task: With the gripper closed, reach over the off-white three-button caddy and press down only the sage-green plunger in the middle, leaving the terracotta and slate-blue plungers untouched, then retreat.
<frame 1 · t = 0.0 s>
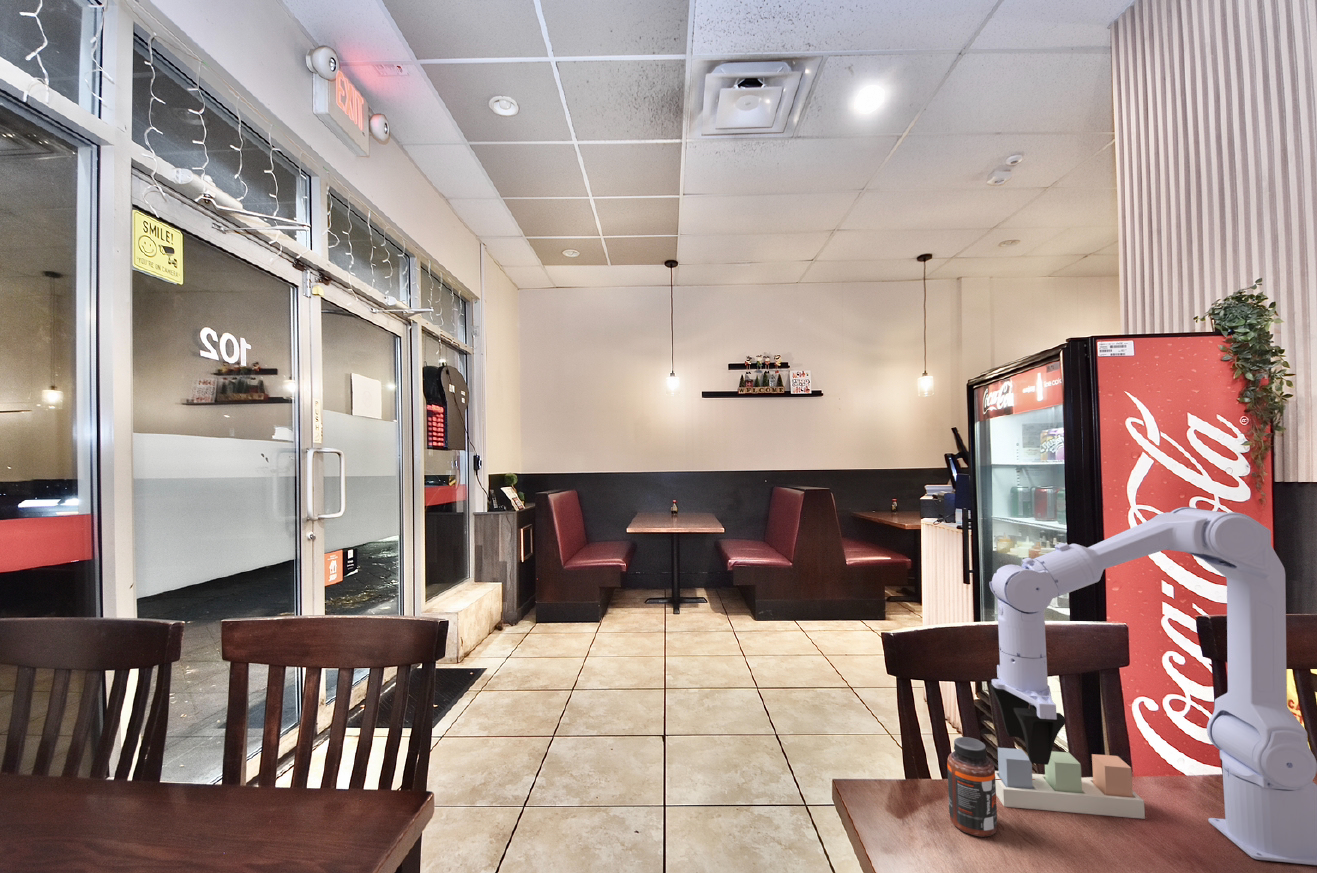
hand: (1026, 748, 82), 10 cm above the table, fingers open, 7 cm apart
supplement bottle: (973, 826, 81), on the table
button slate: (1014, 769, 87), point 4 cm above the table, slide at 0.0 cm
button terracotta: (1111, 776, 85), point 4 cm above the table, slide at 0.0 cm
button green: (1062, 772, 86), point 4 cm above the table, slide at 0.0 cm
button bar: (1064, 802, 86), on the table
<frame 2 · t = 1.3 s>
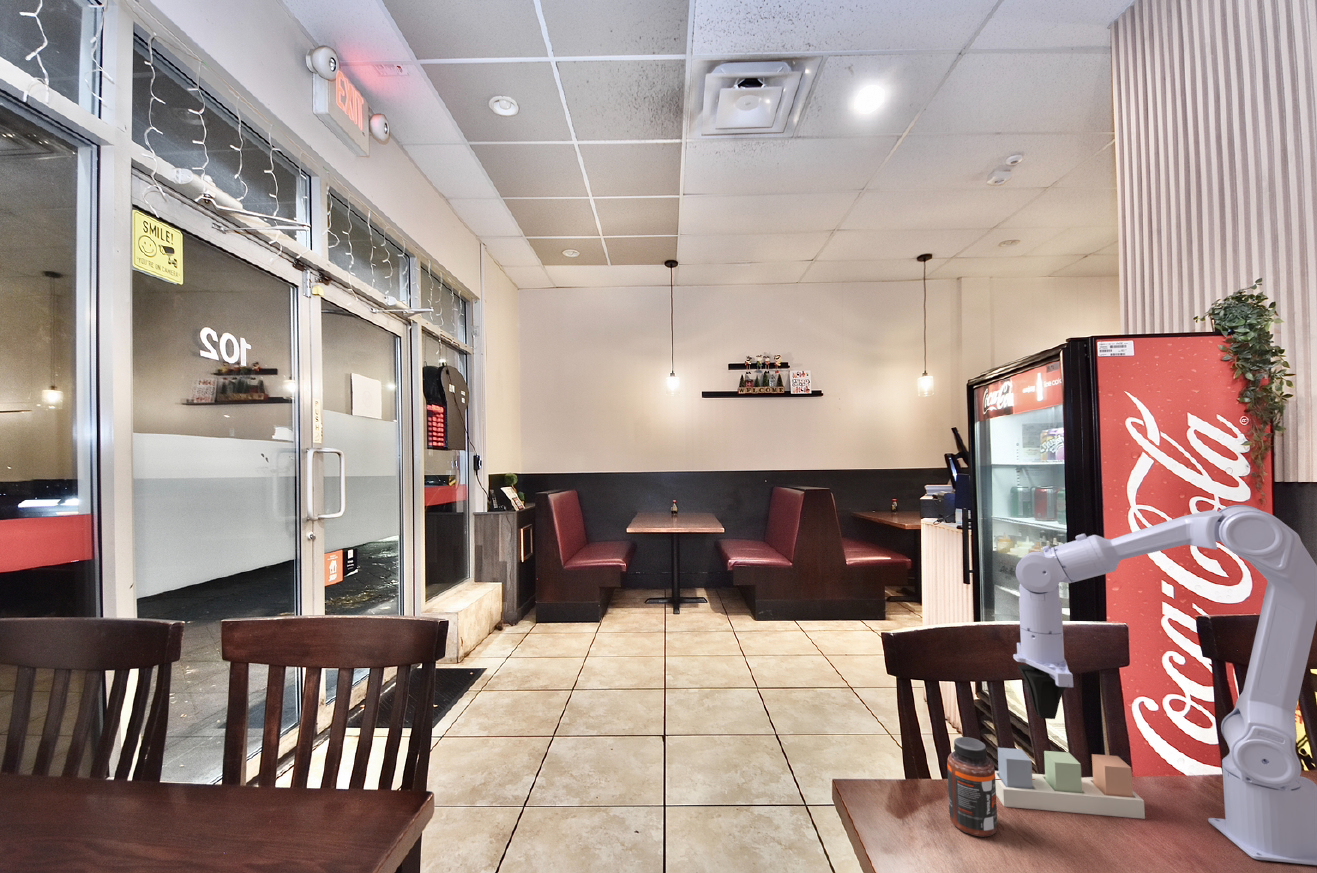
hand: (1045, 716, 91), 10 cm above the table, fingers closed
nothing on the table moved.
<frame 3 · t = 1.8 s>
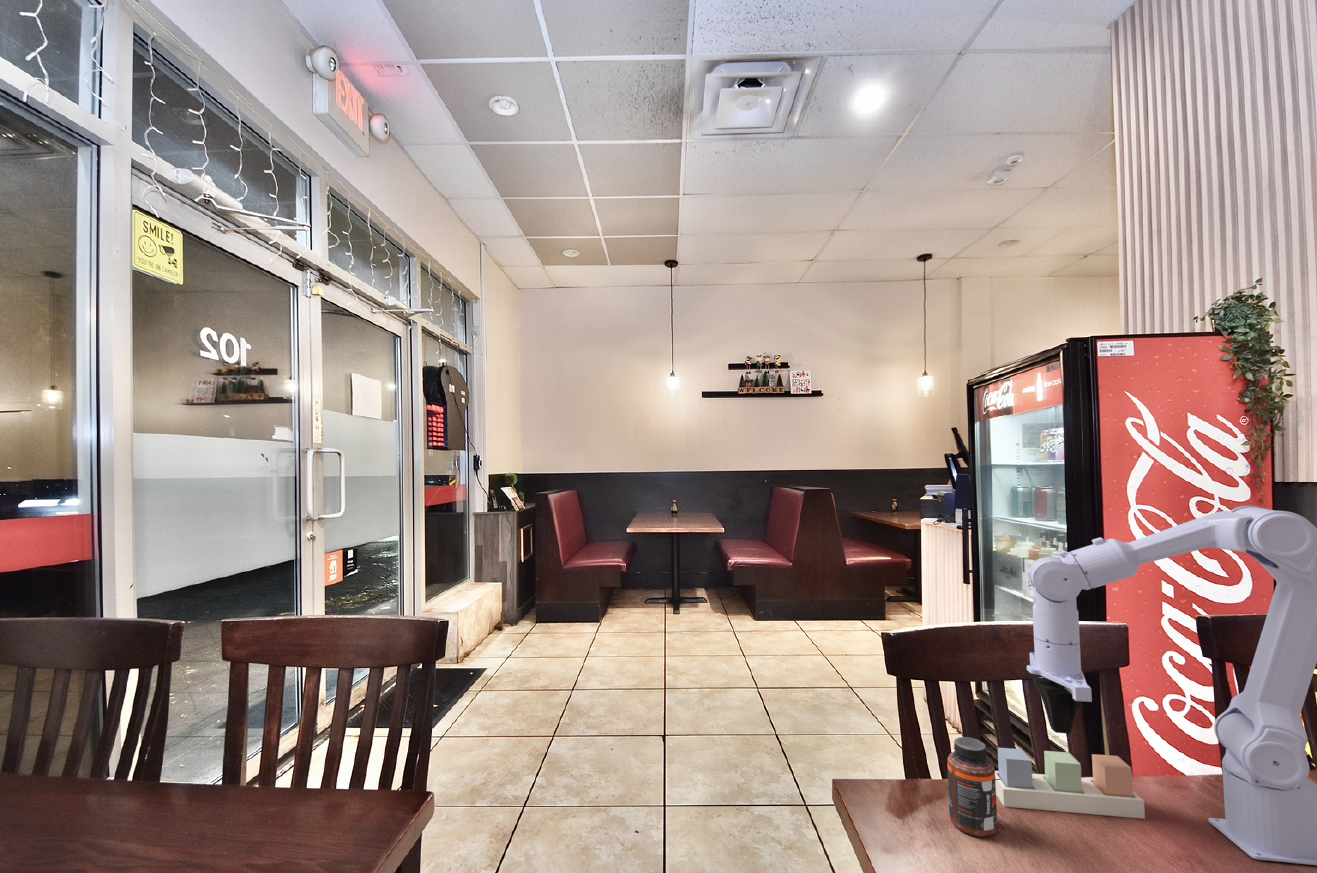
hand: (1060, 731, 86), 10 cm above the table, fingers closed
nothing on the table moved.
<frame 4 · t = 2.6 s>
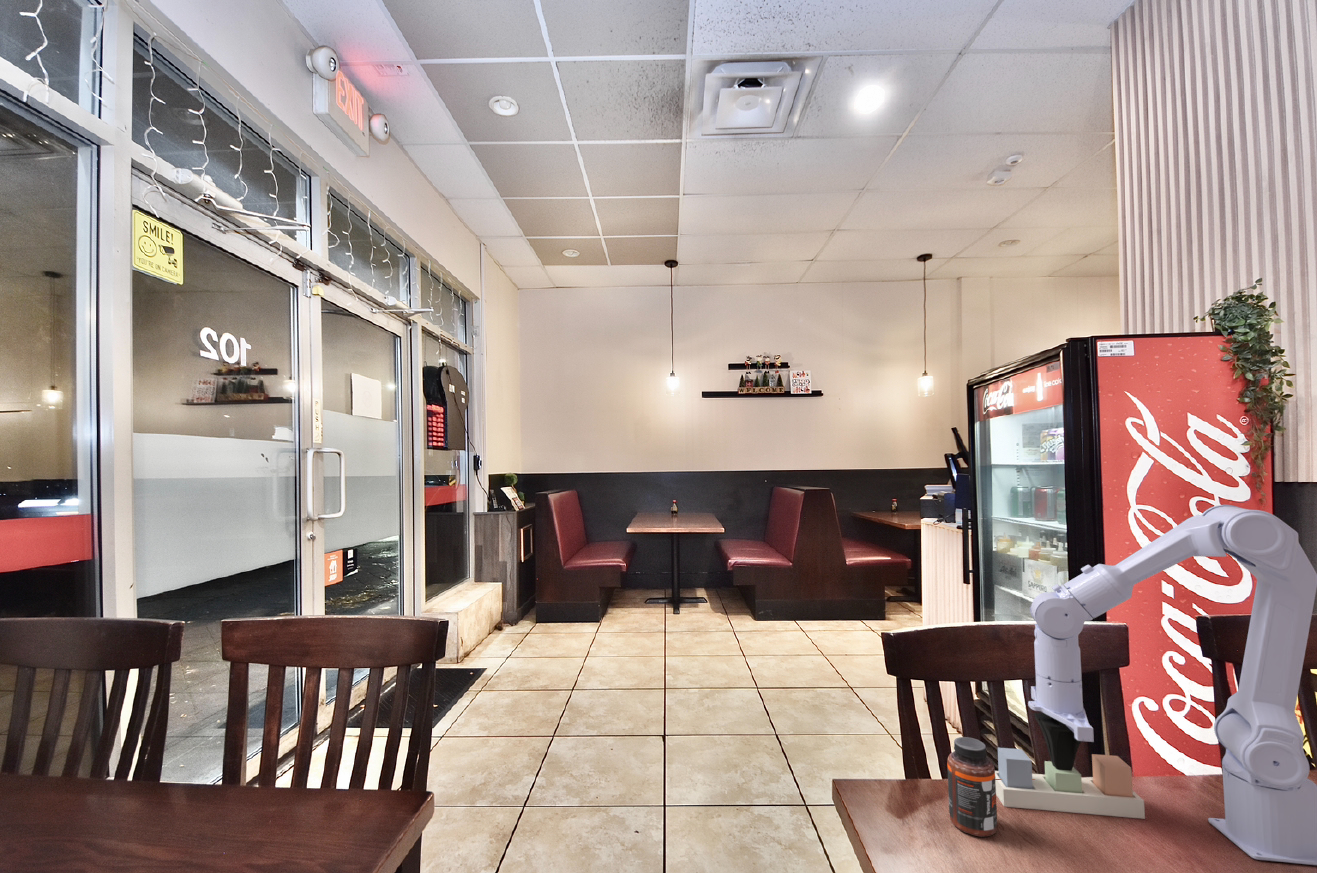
hand: (1062, 767, 86), 5 cm above the table, fingers closed, pressing on button green
button green: (1063, 783, 86), point 3 cm above the table, slide at 1.5 cm, touching gripper
everything else where it was.
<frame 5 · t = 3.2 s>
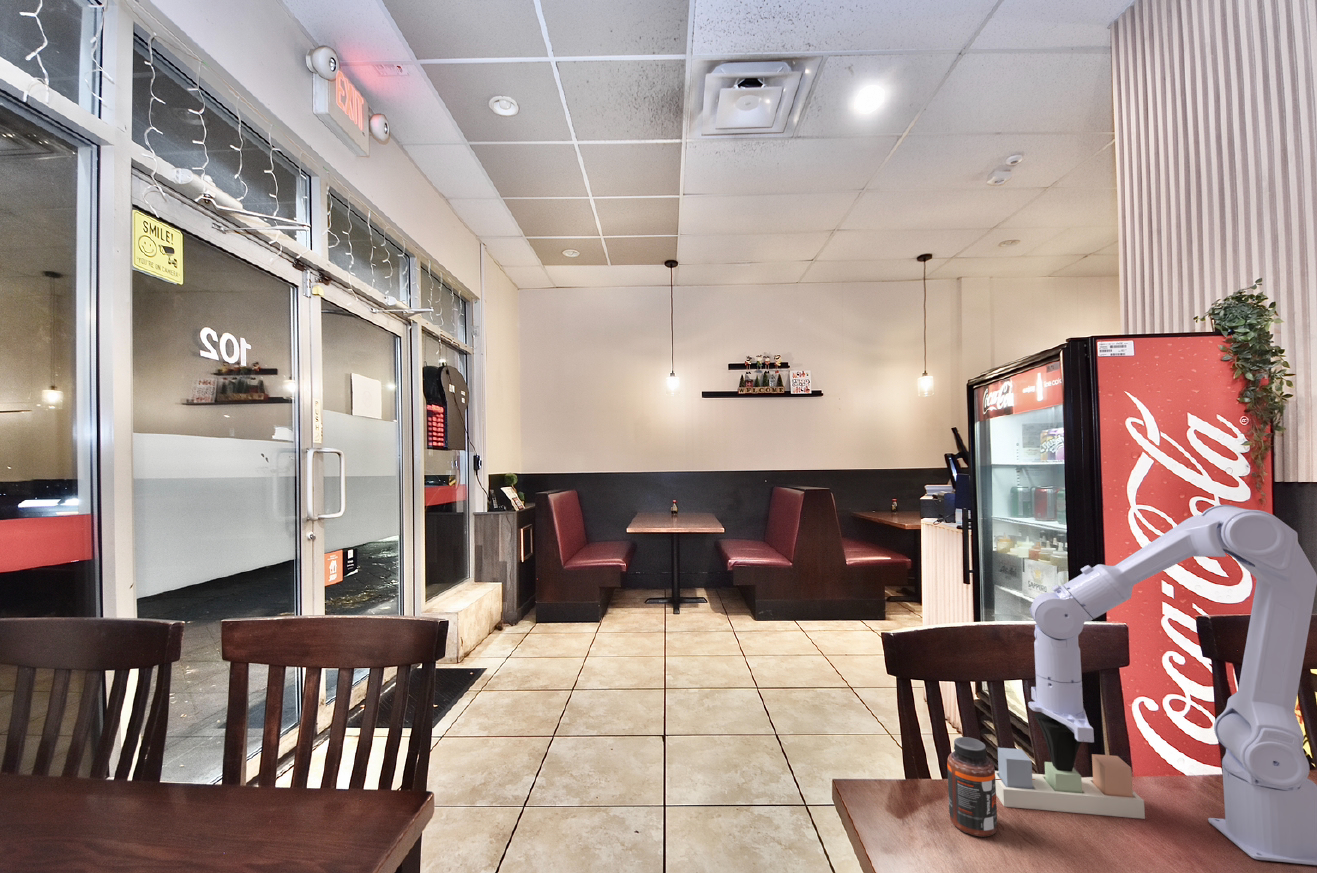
hand: (1062, 768, 86), 5 cm above the table, fingers closed
button green: (1063, 784, 86), point 3 cm above the table, slide at 1.6 cm
everything else where it was.
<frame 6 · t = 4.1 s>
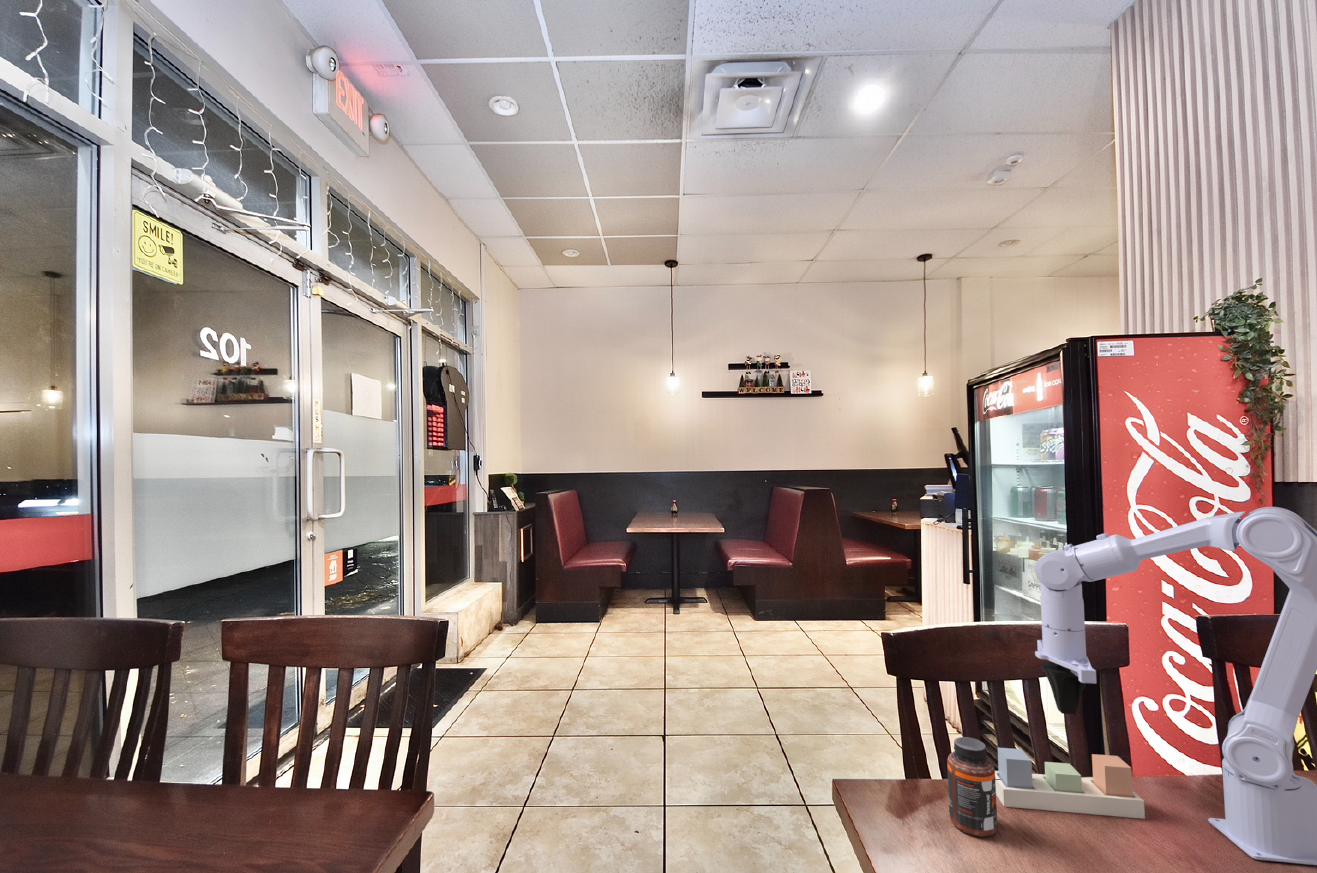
hand: (1067, 712, 92), 10 cm above the table, fingers closed
nothing on the table moved.
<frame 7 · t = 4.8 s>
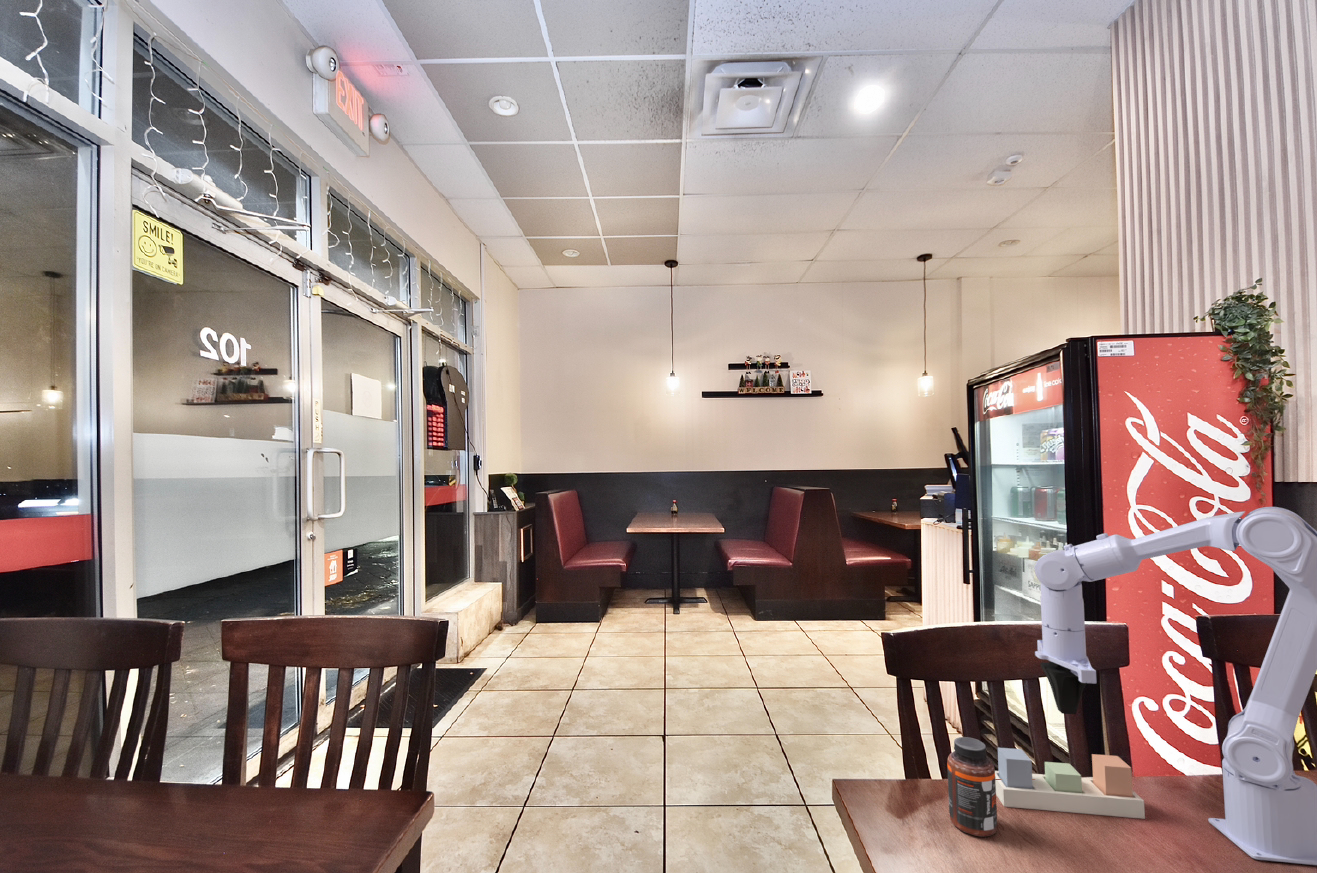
hand: (1067, 712, 92), 10 cm above the table, fingers closed
nothing on the table moved.
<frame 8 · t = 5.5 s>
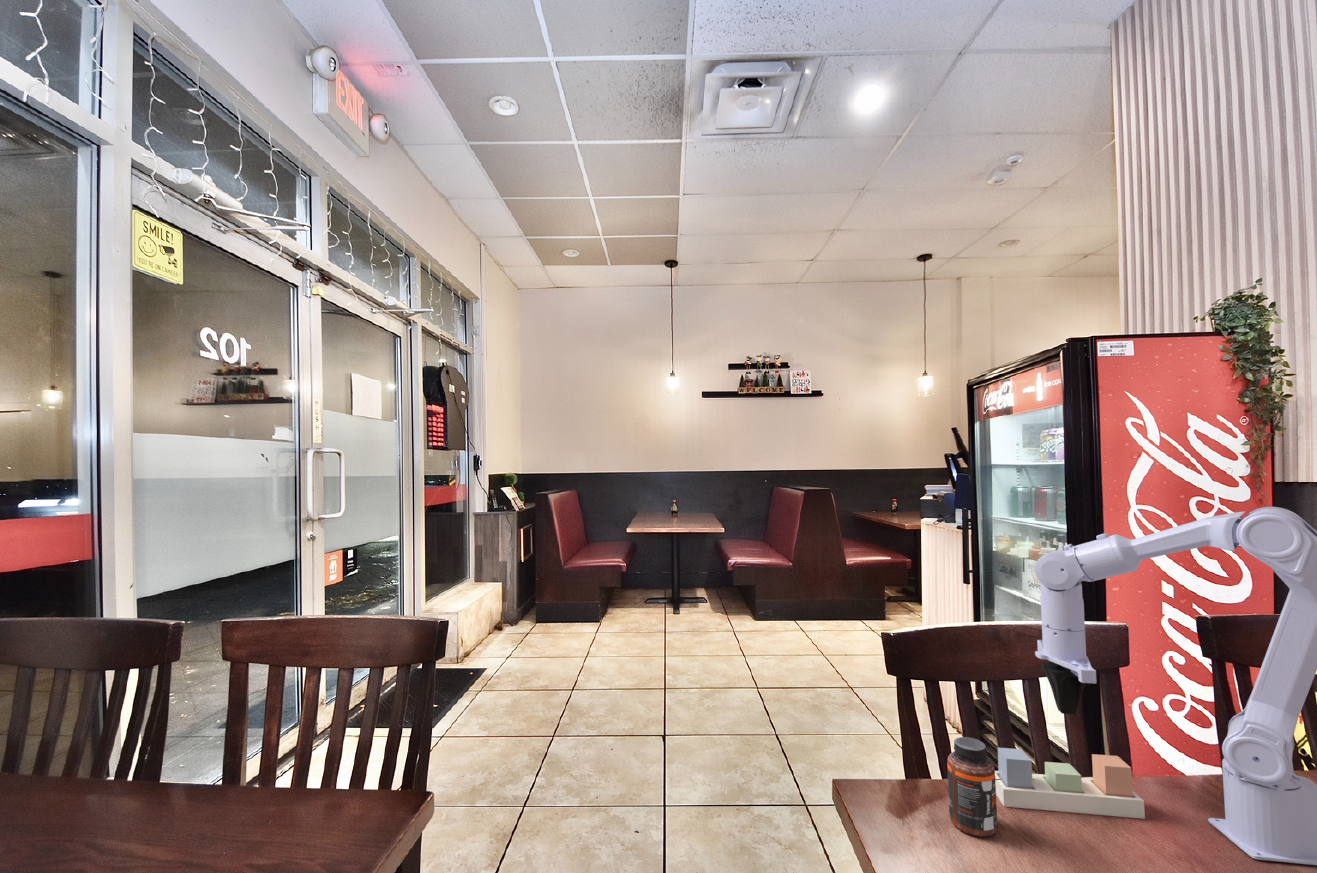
hand: (1067, 712, 92), 10 cm above the table, fingers closed
nothing on the table moved.
at the end: button green slide at 1.6 cm; button terracotta slide at 0.0 cm; button slate slide at 0.0 cm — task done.
